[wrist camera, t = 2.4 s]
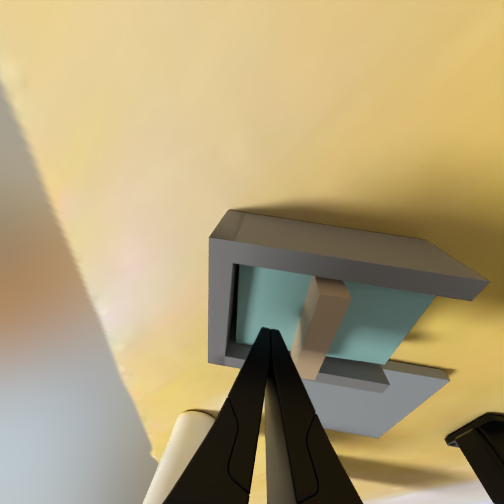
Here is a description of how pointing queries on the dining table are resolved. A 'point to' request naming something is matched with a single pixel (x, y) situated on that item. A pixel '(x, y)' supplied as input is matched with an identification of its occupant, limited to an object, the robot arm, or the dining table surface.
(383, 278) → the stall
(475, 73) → the dining table surface
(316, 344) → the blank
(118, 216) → the dining table surface
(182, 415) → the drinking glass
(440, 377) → the mat
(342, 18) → the dining table surface
